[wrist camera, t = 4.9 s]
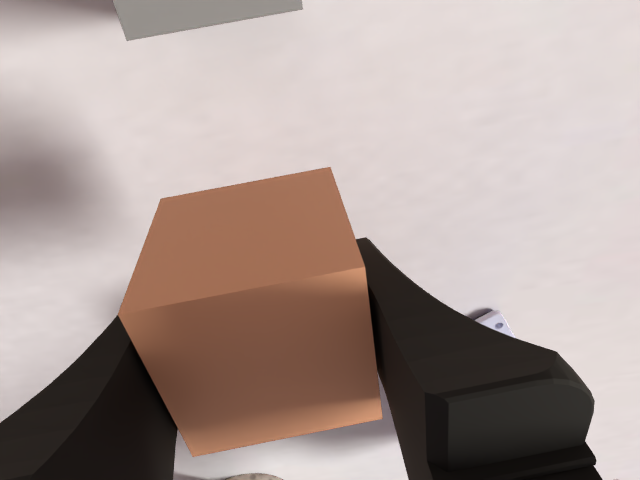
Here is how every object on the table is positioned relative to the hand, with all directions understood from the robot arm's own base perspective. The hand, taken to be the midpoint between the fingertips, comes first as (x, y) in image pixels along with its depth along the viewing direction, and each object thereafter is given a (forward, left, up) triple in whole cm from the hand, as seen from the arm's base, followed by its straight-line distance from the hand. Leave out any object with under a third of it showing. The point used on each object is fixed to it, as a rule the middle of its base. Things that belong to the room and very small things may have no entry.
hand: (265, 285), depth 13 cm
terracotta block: (0, 0, -2) cm, 2 cm away
